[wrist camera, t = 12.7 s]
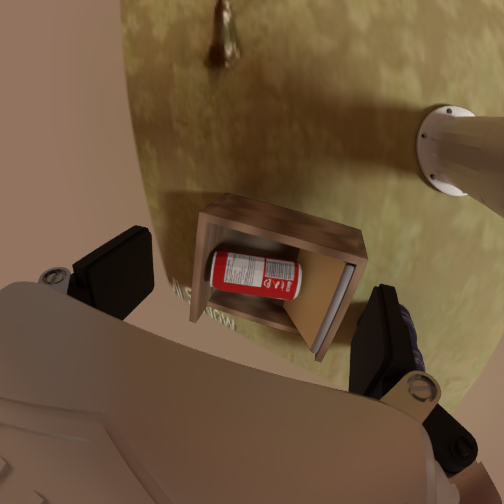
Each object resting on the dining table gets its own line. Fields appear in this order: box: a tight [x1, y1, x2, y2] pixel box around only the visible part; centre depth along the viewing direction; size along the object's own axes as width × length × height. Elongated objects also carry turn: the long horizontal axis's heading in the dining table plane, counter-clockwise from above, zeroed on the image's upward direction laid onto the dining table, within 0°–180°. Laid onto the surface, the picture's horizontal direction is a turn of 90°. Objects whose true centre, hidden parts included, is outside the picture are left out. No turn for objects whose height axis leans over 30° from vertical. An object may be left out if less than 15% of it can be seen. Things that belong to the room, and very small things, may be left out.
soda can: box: [210, 251, 302, 300], centre depth 39 cm, size 6×6×12 cm
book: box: [283, 248, 355, 353], centre depth 38 cm, size 11×14×1 cm
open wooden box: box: [189, 193, 368, 362], centre depth 40 cm, size 20×17×10 cm
